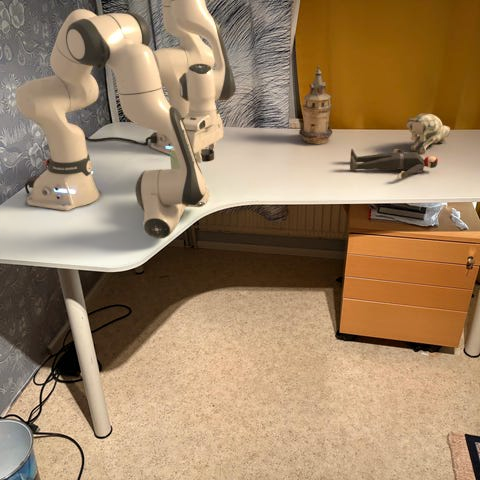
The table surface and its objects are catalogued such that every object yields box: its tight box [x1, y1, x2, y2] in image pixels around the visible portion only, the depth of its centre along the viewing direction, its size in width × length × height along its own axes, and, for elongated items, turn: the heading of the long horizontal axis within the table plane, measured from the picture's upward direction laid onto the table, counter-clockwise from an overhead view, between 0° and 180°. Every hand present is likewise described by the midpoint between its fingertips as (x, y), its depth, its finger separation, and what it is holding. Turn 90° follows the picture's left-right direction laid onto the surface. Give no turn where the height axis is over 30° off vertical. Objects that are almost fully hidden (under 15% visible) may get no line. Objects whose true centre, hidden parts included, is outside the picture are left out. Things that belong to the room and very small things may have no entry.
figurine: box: [406, 113, 451, 154], centre depth 207 cm, size 10×19×20 cm
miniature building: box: [298, 65, 333, 145], centre depth 213 cm, size 13×14×30 cm
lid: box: [200, 148, 215, 163], centre depth 178 cm, size 6×6×2 cm
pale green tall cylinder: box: [169, 147, 180, 169], centre depth 166 cm, size 5×5×18 cm
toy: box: [349, 148, 439, 180], centre depth 190 cm, size 26×6×30 cm
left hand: (180, 184), depth 168 cm, fingers closed on pale green tall cylinder, 5 cm apart
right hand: (205, 158), depth 178 cm, fingers closed on lid, 6 cm apart
